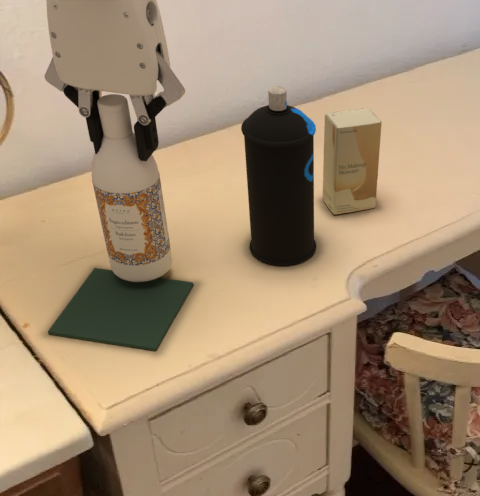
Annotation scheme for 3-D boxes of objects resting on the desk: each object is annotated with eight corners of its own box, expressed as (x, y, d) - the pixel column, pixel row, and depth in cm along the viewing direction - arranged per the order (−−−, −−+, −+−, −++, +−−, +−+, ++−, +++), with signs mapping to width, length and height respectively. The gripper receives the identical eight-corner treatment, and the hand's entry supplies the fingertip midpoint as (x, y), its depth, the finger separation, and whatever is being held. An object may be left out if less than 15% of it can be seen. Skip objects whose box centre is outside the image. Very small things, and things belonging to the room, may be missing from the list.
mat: (48, 334, 89) (47, 331, 89) (95, 270, 98) (94, 267, 97) (155, 351, 88) (155, 348, 88) (193, 285, 97) (193, 282, 96)
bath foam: (103, 281, 94) (65, 112, 80) (121, 247, 99) (88, 82, 85) (164, 286, 94) (137, 118, 80) (179, 251, 99) (155, 87, 85)
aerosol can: (261, 272, 99) (251, 111, 85) (241, 235, 104) (229, 79, 91) (326, 259, 102) (326, 101, 88) (303, 224, 107) (300, 70, 93)
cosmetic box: (333, 216, 109) (334, 128, 100) (321, 200, 111) (321, 112, 103) (378, 207, 111) (383, 120, 102) (365, 191, 114) (369, 105, 105)
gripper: (199, -41, 76) (215, 145, 89) (24, -61, 77) (65, 125, 90) (170, -14, 70) (192, 180, 83) (-17, -36, 72) (32, 158, 85)
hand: (126, 150), depth 86 cm, fingers closed on bath foam, 4 cm apart
